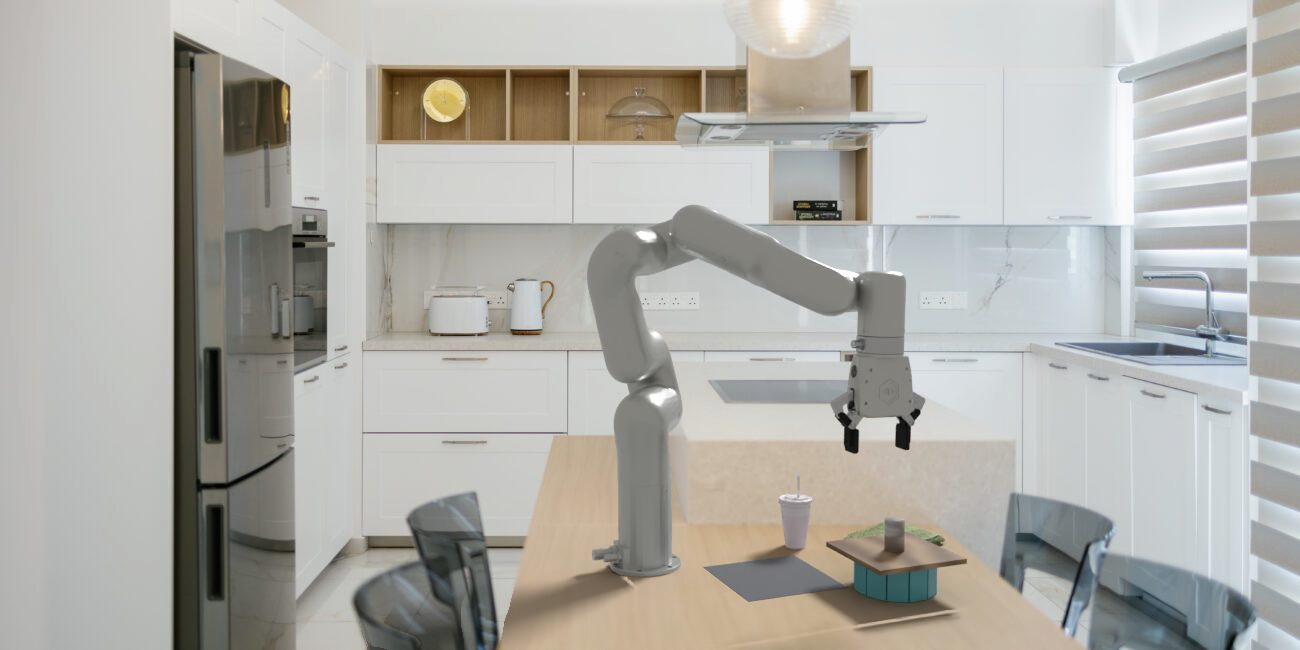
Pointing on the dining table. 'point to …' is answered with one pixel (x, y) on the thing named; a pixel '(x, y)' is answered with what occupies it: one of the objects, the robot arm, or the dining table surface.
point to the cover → (895, 551)
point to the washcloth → (914, 530)
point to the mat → (773, 578)
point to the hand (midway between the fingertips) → (877, 450)
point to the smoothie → (795, 517)
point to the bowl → (896, 584)
